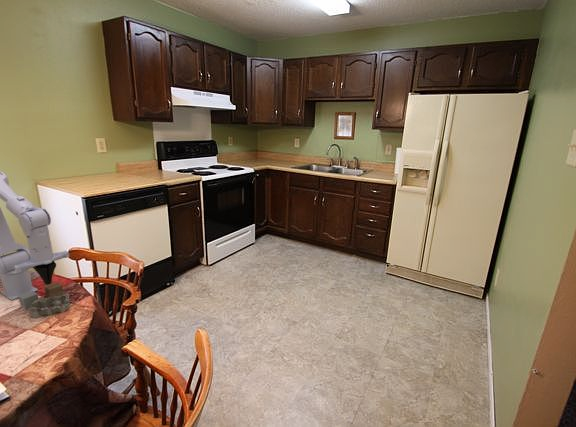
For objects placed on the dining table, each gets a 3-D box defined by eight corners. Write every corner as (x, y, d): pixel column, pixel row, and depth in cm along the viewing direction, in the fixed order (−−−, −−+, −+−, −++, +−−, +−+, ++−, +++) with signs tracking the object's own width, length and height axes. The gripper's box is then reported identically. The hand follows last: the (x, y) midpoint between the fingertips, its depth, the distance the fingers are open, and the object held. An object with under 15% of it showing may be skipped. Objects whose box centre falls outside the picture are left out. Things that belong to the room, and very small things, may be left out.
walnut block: (46, 296, 112) (44, 286, 111) (58, 291, 115) (56, 281, 114) (51, 299, 110) (49, 289, 109) (64, 294, 113) (62, 284, 112)
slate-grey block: (20, 305, 105) (18, 295, 104) (34, 300, 109) (32, 290, 108) (25, 309, 104) (23, 299, 102) (39, 304, 107) (37, 293, 106)
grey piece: (28, 321, 98) (25, 309, 97) (34, 308, 105) (31, 298, 103) (69, 312, 103) (66, 301, 102) (71, 300, 109) (69, 290, 108)
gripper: (17, 256, 92) (26, 296, 96) (71, 242, 104) (77, 278, 108) (8, 251, 96) (17, 289, 100) (60, 237, 108) (67, 272, 111)
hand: (47, 283), depth 104 cm, fingers closed
